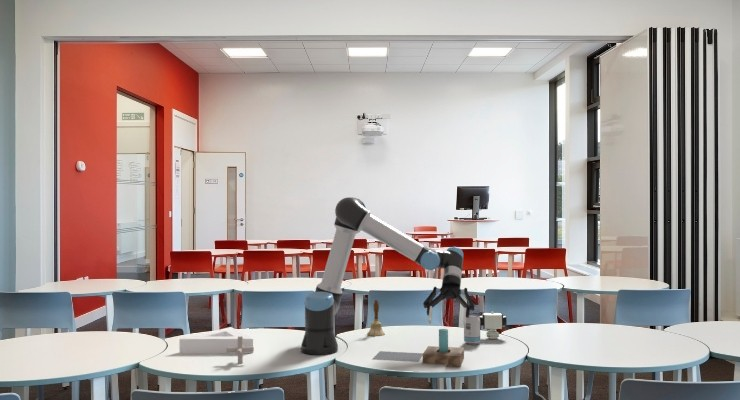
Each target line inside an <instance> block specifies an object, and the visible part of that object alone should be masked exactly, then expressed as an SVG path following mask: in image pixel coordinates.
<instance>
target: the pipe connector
mask: <svg viewBox="0 0 740 400" xmlns="http://www.w3.org/2000/svg"><path fill="white" fill-rule="evenodd" d="M254 348H255V347H254V346H253V347H244V345H243V336H238V347H228V348H227V352H236V353H235V354H236V356H237V364H238V365H240V364H241V365H242V364H243V363H244V362H243V361H244V359H243V358H244V357H243V356H244V355H243V354H244V353H243V352H253V353H254V352H255V349H254Z"/></svg>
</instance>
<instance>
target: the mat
mask: <svg viewBox="0 0 740 400" xmlns="http://www.w3.org/2000/svg"><path fill="white" fill-rule="evenodd" d="M423 353H424V352H423ZM423 353H422V352H404V351H387V350H386V351H383V350H382V351H381V350H380V351H378V353H377V354H375V356H373V358H371V360H374V361H375V360H377V361H393V362H394V361H396V362H414V363H419V362H420V360H421V358H423Z"/></svg>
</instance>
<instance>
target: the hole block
mask: <svg viewBox="0 0 740 400" xmlns="http://www.w3.org/2000/svg"><path fill="white" fill-rule="evenodd" d="M464 359H465V347H456V346H455V347H454V346H453V347H452V346H448V353H445V352H439V346H434V345H433V346H432V345H427V346H426V348H425V350H424V352H423V356H422V364H423V365H424V364H425V365H426V364H427V365H442V366H444V365H445V366H446V367H455V368H461V367H462V364H463V361H464Z"/></svg>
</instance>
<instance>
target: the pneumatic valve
mask: <svg viewBox="0 0 740 400" xmlns="http://www.w3.org/2000/svg"><path fill="white" fill-rule="evenodd" d="M478 317H479V319H480V327H481V328H482V329H483V330H487V331H486V335H485V336H486V338H488V339H489V340H498V338H500V332H499V331H497V329H498V330H504V328H505V327H506V326H507V325H508V324H507V323H508V322H507V316H506V315H503V313H502V312H501V313H499V312H494V311H491V312H485V313H484V312H482V313H481V315H478Z"/></svg>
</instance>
